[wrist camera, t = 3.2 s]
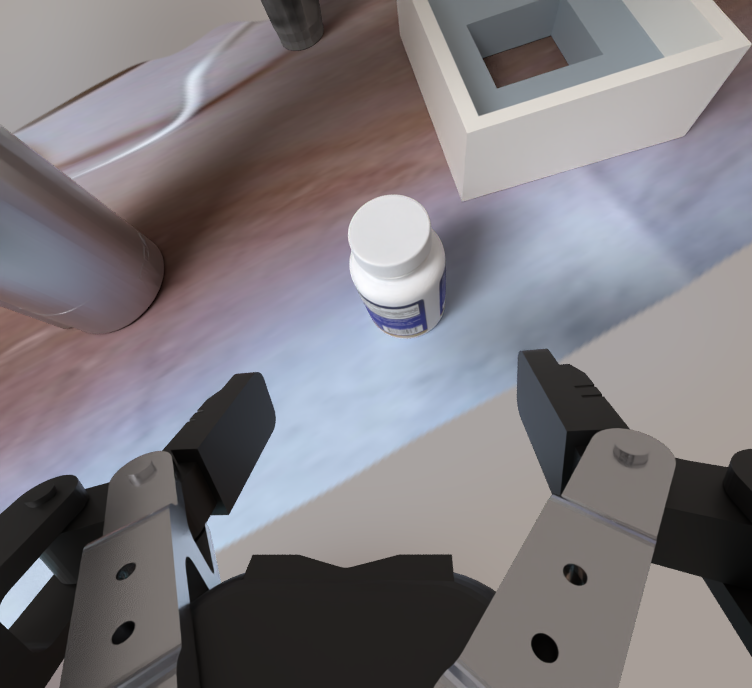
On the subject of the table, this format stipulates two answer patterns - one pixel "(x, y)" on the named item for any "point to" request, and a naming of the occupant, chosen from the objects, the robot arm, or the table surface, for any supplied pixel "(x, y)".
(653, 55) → the bore box
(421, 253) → the pill bottle
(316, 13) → the beverage cup
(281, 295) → the table surface
